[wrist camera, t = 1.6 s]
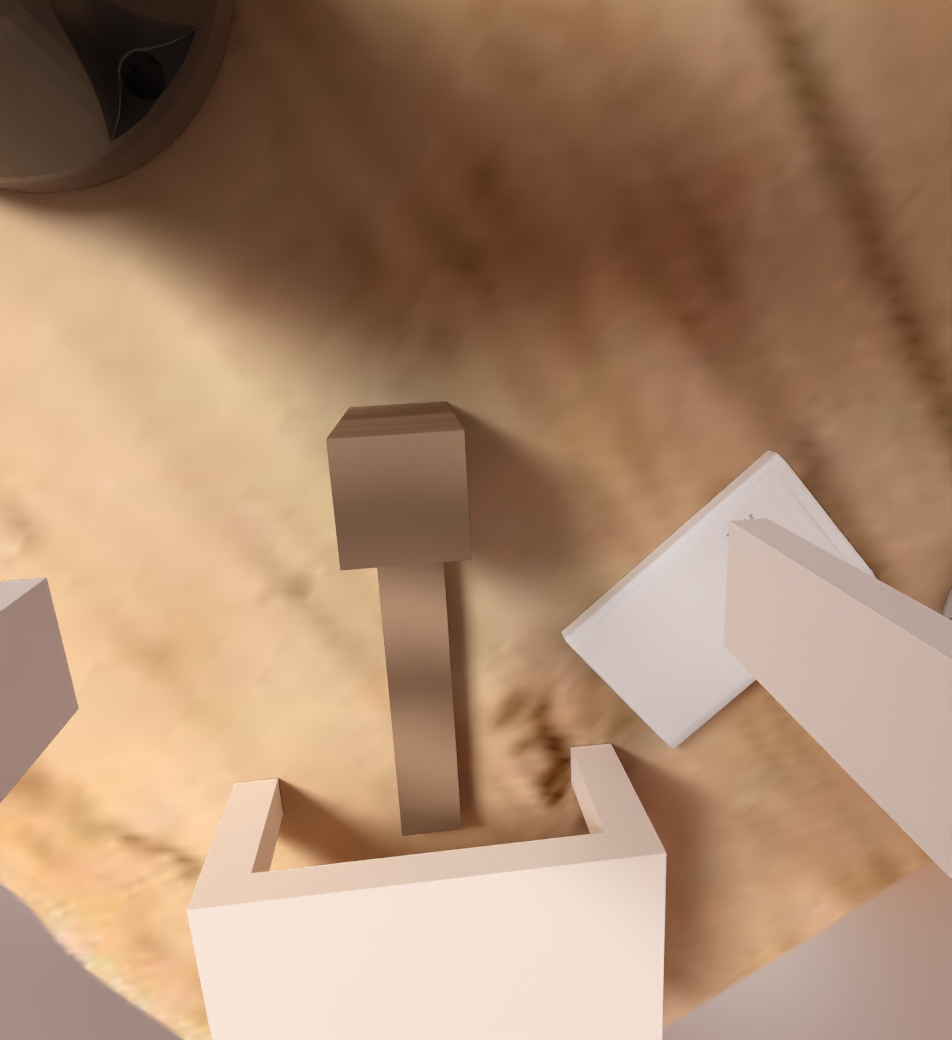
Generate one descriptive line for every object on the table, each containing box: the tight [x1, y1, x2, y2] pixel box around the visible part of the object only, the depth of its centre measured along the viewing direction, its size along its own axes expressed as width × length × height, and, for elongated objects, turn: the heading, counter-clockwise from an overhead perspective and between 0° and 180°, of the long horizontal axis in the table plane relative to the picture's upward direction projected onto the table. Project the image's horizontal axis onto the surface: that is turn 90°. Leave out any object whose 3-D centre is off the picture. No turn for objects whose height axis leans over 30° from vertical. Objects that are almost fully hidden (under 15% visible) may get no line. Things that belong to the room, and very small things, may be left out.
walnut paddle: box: [326, 402, 472, 836], centre depth 27 cm, size 20×4×9 cm, turn 3°
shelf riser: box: [187, 743, 667, 1040], centre depth 31 cm, size 12×18×8 cm, turn 93°
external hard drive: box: [561, 450, 876, 750], centre depth 32 cm, size 2×8×12 cm
